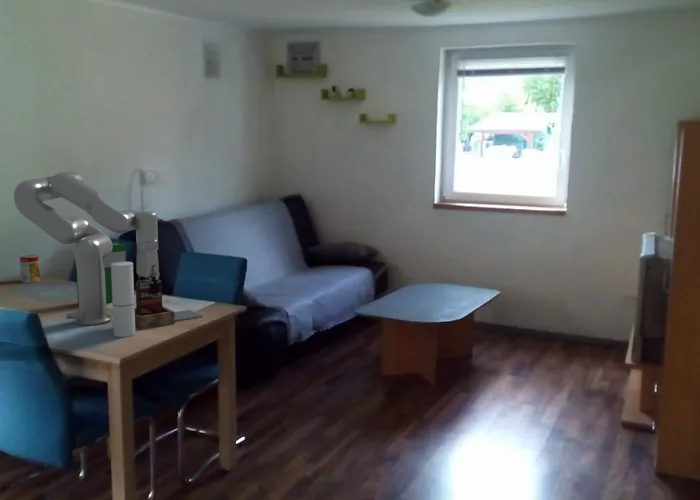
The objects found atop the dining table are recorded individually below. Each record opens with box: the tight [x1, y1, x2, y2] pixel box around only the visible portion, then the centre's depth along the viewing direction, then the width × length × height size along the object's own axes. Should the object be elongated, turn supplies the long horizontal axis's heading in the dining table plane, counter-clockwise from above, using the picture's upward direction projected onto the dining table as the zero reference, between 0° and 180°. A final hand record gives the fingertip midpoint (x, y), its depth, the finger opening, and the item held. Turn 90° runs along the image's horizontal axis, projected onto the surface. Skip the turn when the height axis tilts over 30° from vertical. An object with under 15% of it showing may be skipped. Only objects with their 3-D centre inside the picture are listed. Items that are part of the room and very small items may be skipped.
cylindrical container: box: [111, 261, 136, 338], centre depth 237 cm, size 7×7×25 cm
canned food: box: [19, 253, 41, 284], centre depth 320 cm, size 8×8×12 cm
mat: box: [174, 309, 203, 323], centre depth 263 cm, size 11×11×1 cm
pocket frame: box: [134, 305, 176, 330], centre depth 254 cm, size 13×13×4 cm
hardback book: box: [75, 241, 127, 305], centre depth 282 cm, size 18×7×24 cm, turn 131°
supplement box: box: [135, 278, 163, 316], centre depth 253 cm, size 9×5×16 cm, turn 124°
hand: (148, 291), depth 252 cm, fingers open, 9 cm apart
